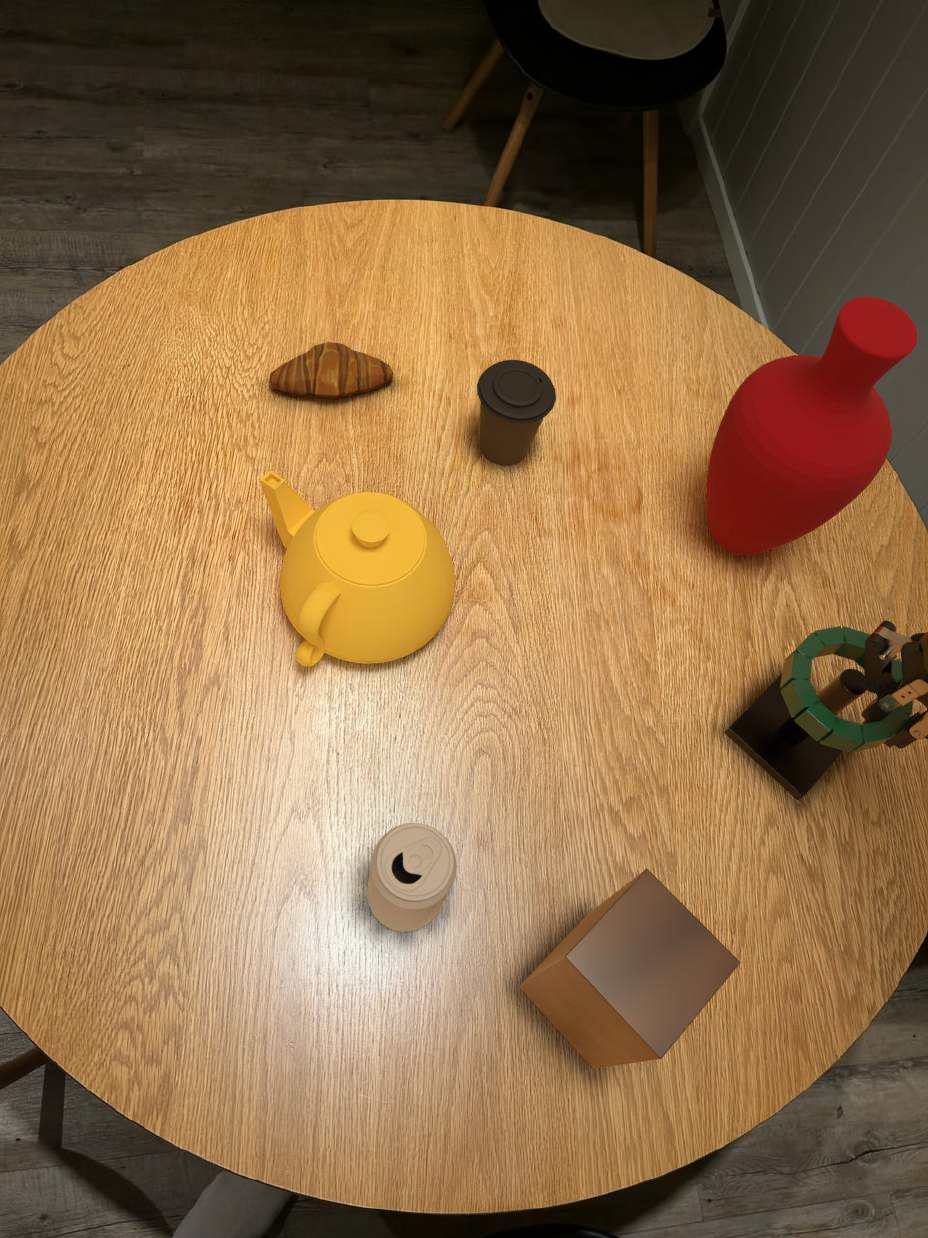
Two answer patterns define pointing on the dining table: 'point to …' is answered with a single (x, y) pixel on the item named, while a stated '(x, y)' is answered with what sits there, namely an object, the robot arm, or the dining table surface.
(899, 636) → the robot arm
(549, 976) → the brown rectangular block
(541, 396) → the coffee cup
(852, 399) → the vase
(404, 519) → the teapot
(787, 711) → the post
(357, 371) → the croissant
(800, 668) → the ring
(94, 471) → the dining table surface
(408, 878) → the beverage can
